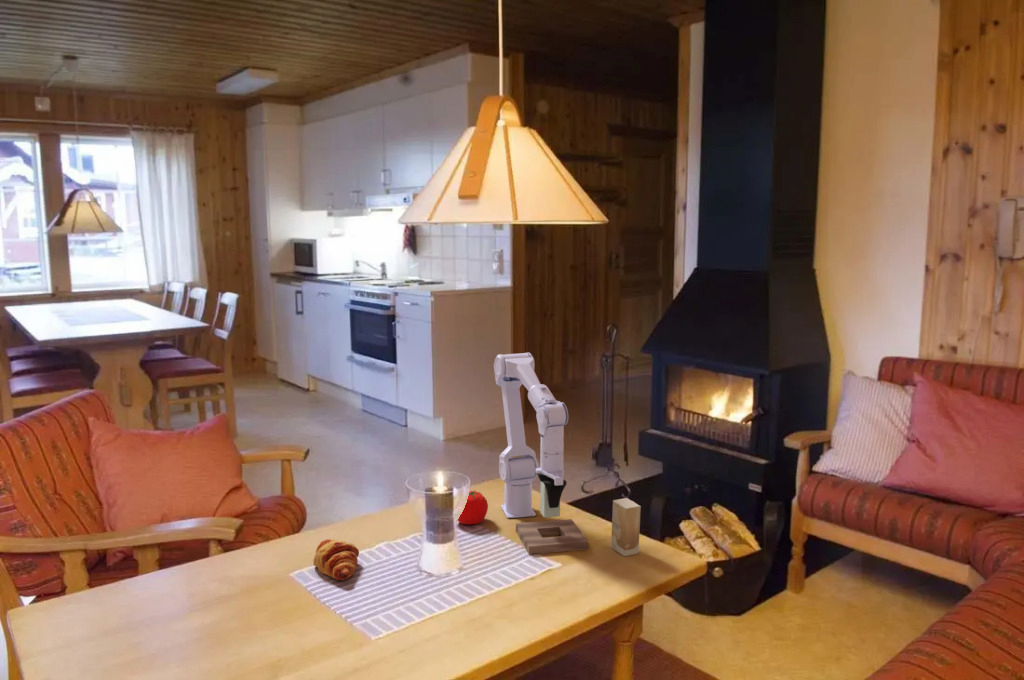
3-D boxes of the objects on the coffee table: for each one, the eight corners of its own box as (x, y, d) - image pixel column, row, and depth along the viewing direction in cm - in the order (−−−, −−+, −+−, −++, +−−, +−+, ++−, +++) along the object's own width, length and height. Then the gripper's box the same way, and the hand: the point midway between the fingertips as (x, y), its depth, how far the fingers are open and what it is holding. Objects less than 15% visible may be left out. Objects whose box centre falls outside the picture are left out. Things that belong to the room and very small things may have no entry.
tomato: (448, 527, 206) (447, 496, 204) (459, 513, 215) (459, 484, 214) (482, 530, 203) (482, 499, 202) (492, 516, 213) (492, 486, 212)
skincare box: (610, 547, 193) (611, 499, 191) (625, 544, 195) (626, 497, 193) (624, 557, 187) (625, 508, 186) (639, 554, 189) (641, 505, 187)
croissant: (315, 565, 191) (298, 540, 188) (351, 540, 194) (335, 515, 191) (335, 601, 172) (317, 573, 169) (374, 573, 175) (357, 545, 172)
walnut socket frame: (515, 530, 203) (515, 523, 203) (571, 526, 206) (571, 519, 206) (528, 554, 189) (528, 546, 188) (588, 549, 192) (588, 541, 192)
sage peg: (540, 511, 198) (540, 481, 197) (555, 510, 199) (556, 480, 198) (544, 517, 194) (544, 486, 193) (559, 516, 195) (560, 485, 194)
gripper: (529, 444, 200) (529, 495, 202) (543, 460, 186) (542, 515, 188) (556, 442, 202) (555, 493, 204) (571, 459, 188) (571, 513, 190)
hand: (551, 504), depth 196 cm, fingers closed on sage peg, 4 cm apart
